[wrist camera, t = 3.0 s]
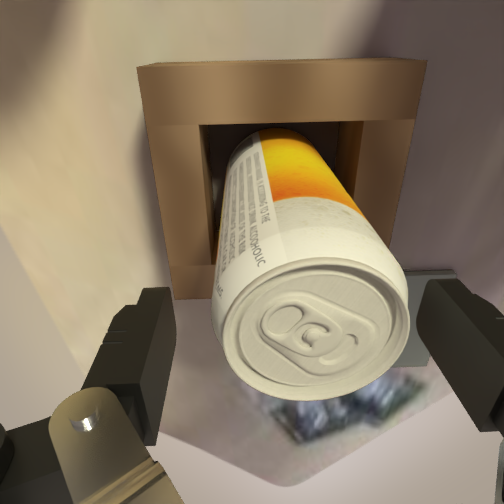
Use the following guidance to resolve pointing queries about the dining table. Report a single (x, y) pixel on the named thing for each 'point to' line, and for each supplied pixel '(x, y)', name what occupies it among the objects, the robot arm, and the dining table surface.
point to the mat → (415, 348)
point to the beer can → (302, 276)
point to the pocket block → (273, 111)
